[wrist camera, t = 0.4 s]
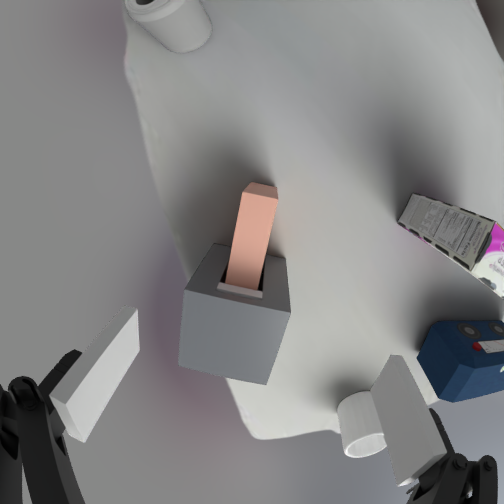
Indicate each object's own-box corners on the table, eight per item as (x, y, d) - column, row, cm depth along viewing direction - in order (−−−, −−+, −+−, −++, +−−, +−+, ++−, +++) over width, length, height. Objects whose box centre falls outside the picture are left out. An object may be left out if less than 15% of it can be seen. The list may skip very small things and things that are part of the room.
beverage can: (154, 40, 26) (108, 4, 15) (190, 7, 24) (157, -40, 13) (187, 63, 27) (146, 26, 16) (224, 29, 25) (201, -21, 14)
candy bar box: (464, 228, 31) (541, 272, 16) (448, 258, 33) (519, 315, 17) (411, 188, 30) (497, 219, 15) (394, 222, 32) (470, 275, 16)
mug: (394, 407, 43) (407, 445, 34) (336, 420, 45) (343, 461, 35) (401, 381, 41) (418, 421, 31) (337, 395, 42) (345, 440, 33)
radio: (504, 314, 35) (561, 375, 16) (486, 351, 38) (532, 416, 19) (431, 313, 36) (496, 402, 17) (411, 357, 39) (456, 449, 20)
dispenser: (214, 243, 34) (184, 289, 23) (285, 258, 34) (290, 312, 23) (204, 305, 38) (178, 365, 26) (269, 319, 38) (266, 385, 26)
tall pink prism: (250, 181, 31) (242, 191, 23) (277, 187, 31) (278, 199, 23) (227, 302, 37) (214, 344, 28) (249, 307, 37) (242, 350, 28)
